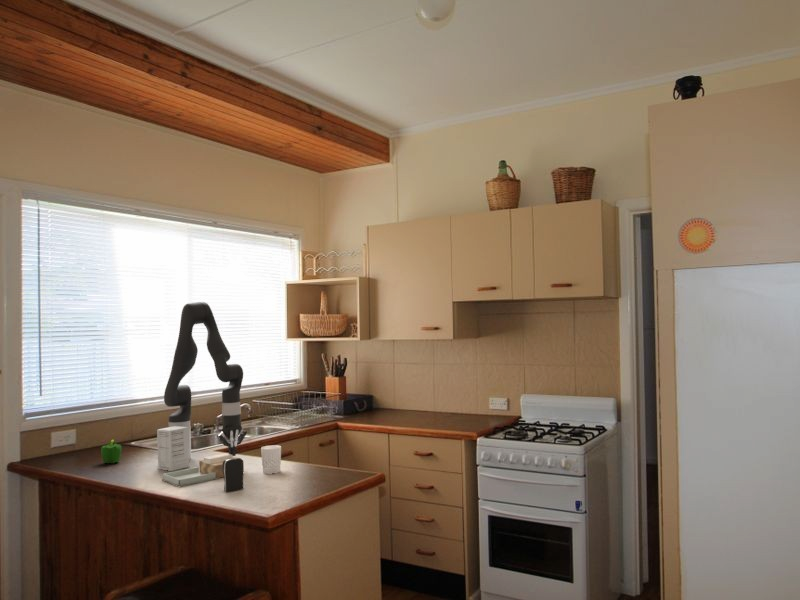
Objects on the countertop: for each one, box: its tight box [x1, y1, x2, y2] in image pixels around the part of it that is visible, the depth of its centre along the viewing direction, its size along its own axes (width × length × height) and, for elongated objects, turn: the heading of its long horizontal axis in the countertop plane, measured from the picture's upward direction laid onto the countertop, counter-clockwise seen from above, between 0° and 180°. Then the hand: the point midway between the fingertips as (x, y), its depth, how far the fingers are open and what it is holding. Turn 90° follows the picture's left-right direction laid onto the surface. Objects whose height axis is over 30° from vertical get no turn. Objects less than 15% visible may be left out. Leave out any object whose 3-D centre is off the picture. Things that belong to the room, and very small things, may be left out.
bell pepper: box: [100, 439, 123, 464], centre depth 279 cm, size 8×8×10 cm
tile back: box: [215, 452, 234, 462], centre depth 253 cm, size 5×5×2 cm
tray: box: [161, 466, 217, 487], centre depth 243 cm, size 15×15×2 cm
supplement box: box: [156, 426, 190, 472], centre depth 264 cm, size 10×9×17 cm
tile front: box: [203, 454, 221, 464], centre depth 250 cm, size 5×5×2 cm
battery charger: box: [222, 457, 244, 493], centre depth 225 cm, size 7×4×11 cm, turn 131°
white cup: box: [260, 444, 282, 475], centre depth 251 cm, size 8×8×10 cm
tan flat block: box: [199, 459, 245, 479], centre depth 252 cm, size 14×12×5 cm
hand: (232, 455), depth 256 cm, fingers closed
